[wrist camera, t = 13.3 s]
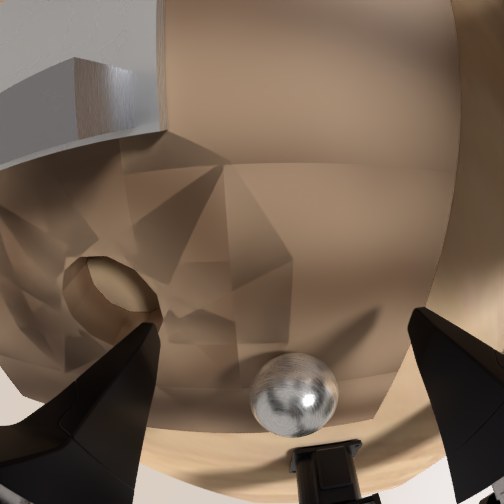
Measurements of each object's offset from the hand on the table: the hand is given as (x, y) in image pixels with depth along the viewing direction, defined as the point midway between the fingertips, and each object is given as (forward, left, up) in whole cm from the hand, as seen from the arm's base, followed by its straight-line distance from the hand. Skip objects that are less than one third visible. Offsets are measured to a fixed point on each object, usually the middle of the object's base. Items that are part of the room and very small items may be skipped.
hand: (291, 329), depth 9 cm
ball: (-3, 0, 0) cm, 3 cm away
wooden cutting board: (+1, +7, -4) cm, 8 cm away
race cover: (+10, +7, -1) cm, 12 cm away
